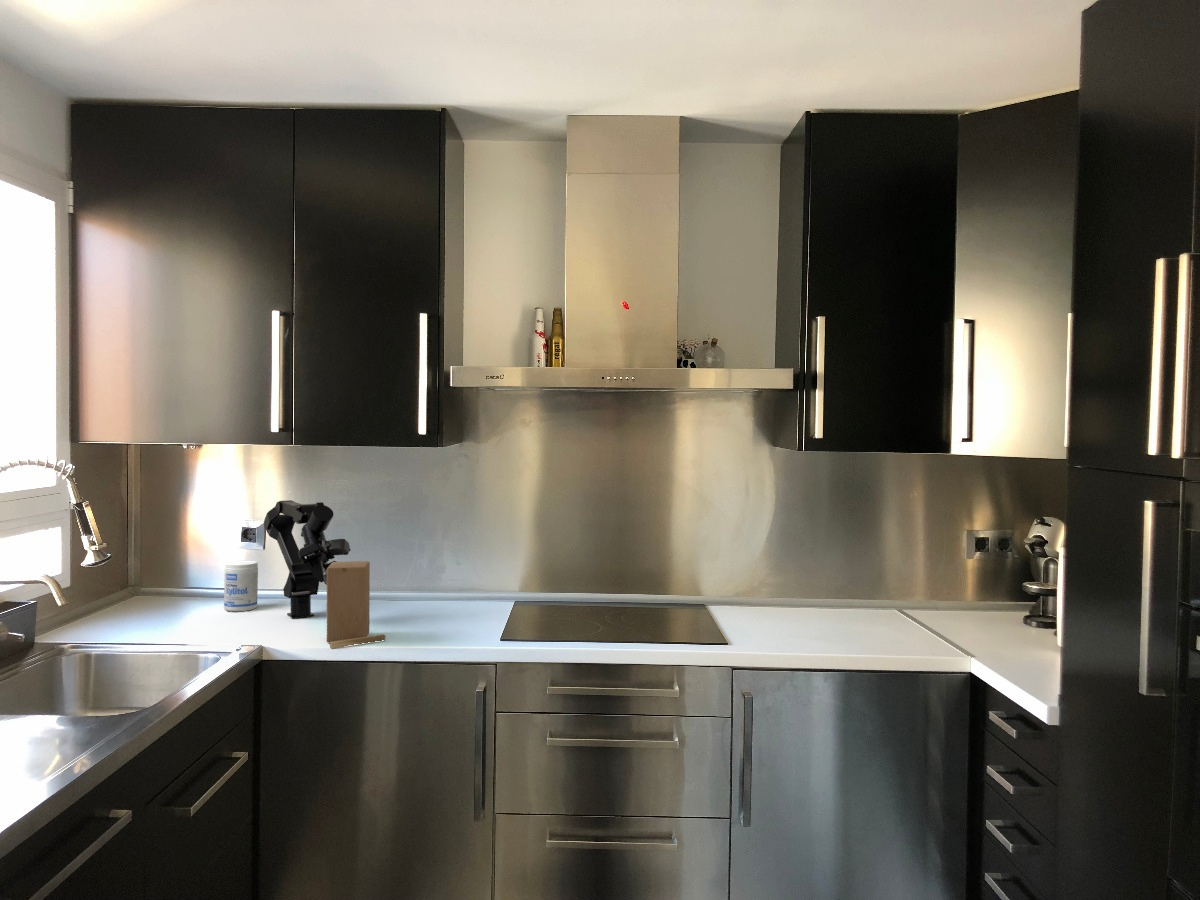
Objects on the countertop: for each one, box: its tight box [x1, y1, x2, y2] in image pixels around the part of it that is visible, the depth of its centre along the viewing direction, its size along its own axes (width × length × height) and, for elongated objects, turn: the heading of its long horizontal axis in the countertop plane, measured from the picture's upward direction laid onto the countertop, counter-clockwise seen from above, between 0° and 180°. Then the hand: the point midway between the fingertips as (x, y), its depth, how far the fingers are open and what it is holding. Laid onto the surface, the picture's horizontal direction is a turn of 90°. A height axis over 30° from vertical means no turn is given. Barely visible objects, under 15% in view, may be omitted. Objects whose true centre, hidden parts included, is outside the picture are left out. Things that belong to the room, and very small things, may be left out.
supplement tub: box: [223, 560, 259, 612], centre depth 243 cm, size 10×10×15 cm
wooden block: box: [326, 560, 371, 643], centre depth 209 cm, size 10×10×20 cm
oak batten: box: [329, 633, 386, 650], centre depth 203 cm, size 2×14×2 cm, turn 125°
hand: (328, 587), depth 218 cm, fingers open, 9 cm apart
